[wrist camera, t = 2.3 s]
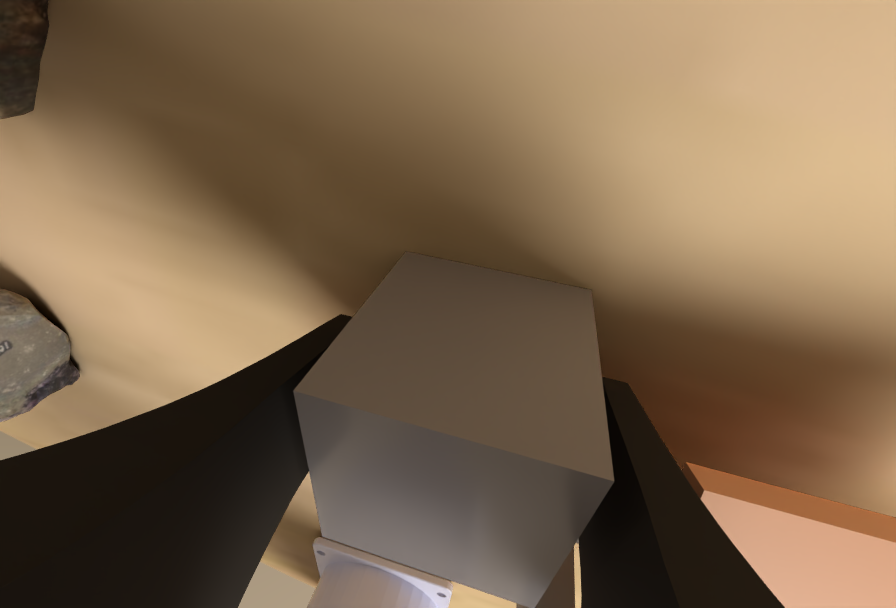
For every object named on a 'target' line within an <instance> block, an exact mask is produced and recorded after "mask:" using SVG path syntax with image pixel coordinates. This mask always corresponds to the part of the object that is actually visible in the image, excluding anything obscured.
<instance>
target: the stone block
mask: <svg viewBox="0 0 896 608" xmlns="http://www.w3.org/2000/svg"><path fill="white" fill-rule="evenodd" d="M47 6H48V0H0V119H4V118H9V117H14V116H18V115H23V114H26V113H28V112H30V111H33V109H34V103H35V97H36V91H37V86H38V80H39V70H40V60H41V56H42V53H43V49H44V46H45V42H46V39H47V33H48V28H49V21H48V15H47Z"/></svg>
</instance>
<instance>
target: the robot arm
mask: <svg viewBox="0 0 896 608" xmlns="http://www.w3.org/2000/svg"><path fill="white" fill-rule="evenodd" d="M352 318H353V317H351V316H346V315H342V314H341V315H339V316H337V317H335V318H333V319H332V320H330V321H328V322H326V323H325V324H323V325H321V326H319V327H318V328H316V329H314V330H313V331H311V332H309V333H308V334H306V335H304V336H303V337H301V338H299V339H297V340H296V341H294V342H292V343H290V344H289V345H287V346H285V347H283V348H282V349H280V350H278V351H276V352H275V353H273V354H271V355H269V356H268V357H266V358H264V359H262V360H260V361H258V362H256V363H254V364H252V365H250V366H248V367H246V368H244V369H243V370H241V371H239V372H237V373H235V374H233V375H231V376H229V377H227V378H225V379H223V380H221V381H219V382H217V383H215V384H213V385H210V386H208V387H206V388H204V389H202V390H200V391H197V392H195V393H193V394H190V395H188V396H186V397H183V398H181V399H179V400H176V401H174V402H172V403H169V404H167V405H164V406H162V407H159V408H157V409H154V410H151V411H149V412H146V413H143V414H141V415H138V416H135V417H133V418H130V419H127V420H125V421H122V422H119V423H117V424H114V425H111V426H109V427H106V428H103V429H100V430H97V431H94V432H91V433H88V434H85V435H82V436H79V437H76V438H73V439H70V440H67V441H64V442H61V443H57V444H54V445H51V446H48V447H44V448H41V449H38V450H35V451H31V452H28V453H25V454H21V455H18V456H14V457H11V458H8V459H4V460H0V608H238V606H239V604H240V602H241V599H242V597H243V595H244V593H245V591H246V589H247V587H248V584H249V582H250V580H251V578H252V576H253V574H254V572H255V570H256V568H257V566H258V564H259V562H260V560H261V558H262V556H263V554H264V552H265V550H266V548H267V546H268V544H269V542H270V540H271V538H272V536H273V534H274V532H275V530H276V528H277V526H278V524H279V523H280V521H281V519H282V517H283V515H284V513H285V511H286V509H287V507H288V505H289V503H290V501H291V500H292V498H293V496H294V494H295V493H296V491H297V489H298V488H299V486H300V484H301V483H302V481H303V479H304V478H305V476H306V475H307V473H308V472H309V468H308V463H307V458H306V453H305V448H304V443H303V438H302V432H301V427H300V422H299V417H298V412H297V407H296V402H295V397H294V392H293V391H294V389H295V388H296V387H297V386H298V384H299V383H300V382H301V381H302V379H303V378H304V377H305V376H306V374H307V373H308V372H309V371H310V369H311V368H312V367H313V366H314V365H315V363H316V362H317V361H318V360H319V358H320V357H321V356H322V355H323V353H324V352H325V351H326V350H327V348H328V347H329V346H330V345H331V343H332V342H333V341H334V340H335V339H336V337H337V336H338V335H339V334H340V332H341V331H342V330H343V329H344V327H345V326H346V325H347V324H348V322H349V321H350V320H351V319H352ZM602 382H603V390H604V398H605V407H606V415H607V424H608V432H609V440H610V449H611V457H612V466H613V474H614V483H613V484H612V486H611V487H610V489H609V491H608V492H607V494H606V495H605V497H604V499H603V500H602V502H601V503H600V505H599V507H598V508H597V510H596V511H595V513H594V514H593V516H592V518H591V519H590V521H589V522H588V524H587V526H586V527H585V529H584V530H583V532H582V534H581V535H580V537H579V538H578V539H579V553H580V567H581V592H582V600H581V608H785V607H784V606H783V605H782V603H781V602H780V601H779V600H778V599H777V597H776V596H775V595H774V594H773V593H772V591H771V590H770V589H769V588H768V587H767V585H766V584H765V583H764V582H763V580H762V579H761V578H760V577H759V575H758V574H757V573H756V572H755V570H754V569H753V568H752V567H751V565H750V564H749V563H748V562H747V560H746V559H745V558H744V557H743V555H742V554H741V553H740V552H739V550H738V549H737V548H736V547H735V545H734V544H733V543H732V541H731V540H730V539H729V537H728V536H727V535H726V533H725V532H724V531H723V529H722V528H721V527H720V525H719V524H718V523H717V521H716V520H715V518H714V517H713V516H712V514H711V513H710V511H709V510H708V509H707V507H706V506H705V504H704V503H703V502H702V500H701V499H700V497H699V496H698V495H697V493H696V492H695V490H694V489H693V487H692V486H691V484H690V483H689V481H688V480H687V479H686V477H685V475H684V474H683V472H682V471H681V469H680V468H679V466H678V465H677V463H676V461H675V460H674V458H673V457H672V455H671V454H670V452H669V451H668V449H667V448H666V446H665V444H664V443H663V441H662V439H661V438H660V436H659V435H658V433H657V431H656V430H655V428H654V426H653V425H652V423H651V421H650V420H649V418H648V416H647V415H646V413H645V411H644V410H643V408H642V406H641V405H640V403H639V401H638V399H637V398H636V396H635V394H634V393H633V391H632V390H631V388H630V386H629V385H628V383H625V382H621V381H616V380H612V379H608V378H604V377H602ZM313 550H314V554H315V558H316V562H317V567H318V571H319V575H320V580H319V582H318V585H317V587H316V589H315V591H314V594H313V595H312V597H311V600H310V602H309V604H308V606H307V608H448V606H449V602H450V598H451V595H452V590H453V585H452V583H451V582H449V581H448V580H445V579H442V578H439V577H437V576H434V575H431V574H428V573H425V572H422V571H419V570H416V569H413V568H410V567H407V566H404V565H401V564H398V563H396V562H393V561H390V560H387V559H384V558H381V557H378V556H375V555H372V554H369V553H366V552H363V551H360V550H357V549H355V548H352V547H349V546H346V545H343V544H340V543H337V542H334V541H331V540H328V539H325V538H322V537H317V538H316V539H315V540H314V542H313Z"/></svg>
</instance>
